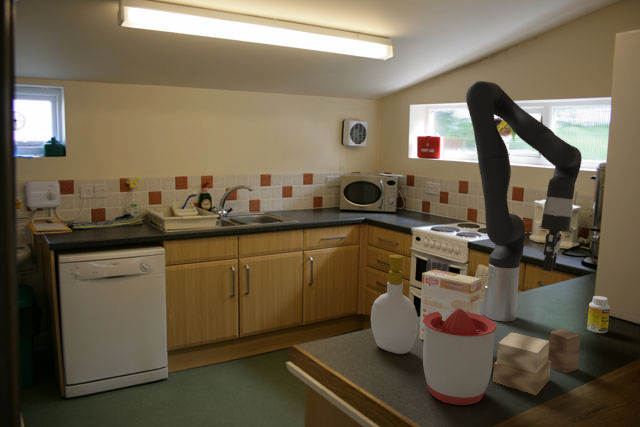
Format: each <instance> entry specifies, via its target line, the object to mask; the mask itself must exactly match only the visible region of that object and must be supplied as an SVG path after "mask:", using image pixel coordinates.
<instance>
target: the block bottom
mask: <svg viewBox="0 0 640 427" xmlns="http://www.w3.org/2000/svg"><path fill="white" fill-rule="evenodd" d="M492 372H493V373H492V375H493V376H492V383H494V382H496V383H495V384H498V383H499V384H498V385H501V384H502V386H504V385H505V386H504V387H507V388H511V389H515V390H517V389H518V391H520V392H524V393H527V392H528V394H532V395H534V396H538V394H539V393H540V391H541V390H543V388H544V387H545V385H547V383H548V382H549V381H550V379H551V378H550V375H551V361H547V363H546V364H545V365H544V366H543V367H542V368H541V369H540V370H539V371H538V373H537V374H534V373H530V372H527V371H523V370H520V369H516V368H512V367H509V366H505V365H502V364H498V363H497V360H496V361H494V362H493V370H492Z"/></svg>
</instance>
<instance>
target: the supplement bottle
mask: <svg viewBox="0 0 640 427" xmlns="http://www.w3.org/2000/svg"><path fill="white" fill-rule="evenodd" d="M608 299H609V298H607V297H606V296H602V295H595V296H594V295H593V296H592V301H591V302H589V305H588V315H587V323H586V324H587V325H586V328H587V330H588V331H589V332H592V333H596V334H605V333H607V332H608V330H609V320H610V312H611V306H610V305H609V304H608V303H609V300H608Z"/></svg>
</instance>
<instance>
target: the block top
mask: <svg viewBox="0 0 640 427" xmlns="http://www.w3.org/2000/svg"><path fill="white" fill-rule="evenodd" d="M496 352H497V355H496V361H497V363H498V364H502V365H505V366H509V367H512V368H516V369H520V370H523V371H527V372H530V373H534V374H537V373H538V371H539V370H540V369H541V368H542V367H543V366H544V365H545V364H546V363H547V361H548V353H549V340H547V339H542V338H538V337H533V336H530V335H529V336H528V335H524V334H522V333H517V332H512V331H511V332H510V333H508V334H507V335H506V336H505V337H503V338H502V339H501V340H500V341H499V342H497V351H496Z"/></svg>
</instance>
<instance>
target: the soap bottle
mask: <svg viewBox="0 0 640 427" xmlns="http://www.w3.org/2000/svg"><path fill="white" fill-rule="evenodd" d="M388 259H389V267H390V270H389V271H388V281H387V283H386V284H387V286H386V293H383V294H380V295H379V296H378V297H377V298H376V299H375V300H374V301H373V305H372V307H371V313H370V325H371V331H372V335H373V337H374V341H375V343H376V345H377V347H379V348H380V349H382V350H383V351H387V352H390V353H392V354H398V355H404V354H407V353H409V352H410V351H411V349H412V348H413V346H414V343H415V341H416V339H417V335H418V330H419V324H418V323H419V322H418V321H419V320H418V313H417V309H416V306H415V304H414V303H413V302H412V300H411V299H409V298H408V297H407V296H406V295H404V294H403V292H404V291H403V290H404V283H403V271H401V269H402V265H403V261H404V260H403V259H408V257H407V256H403V255H400V254H389V256H388Z"/></svg>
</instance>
